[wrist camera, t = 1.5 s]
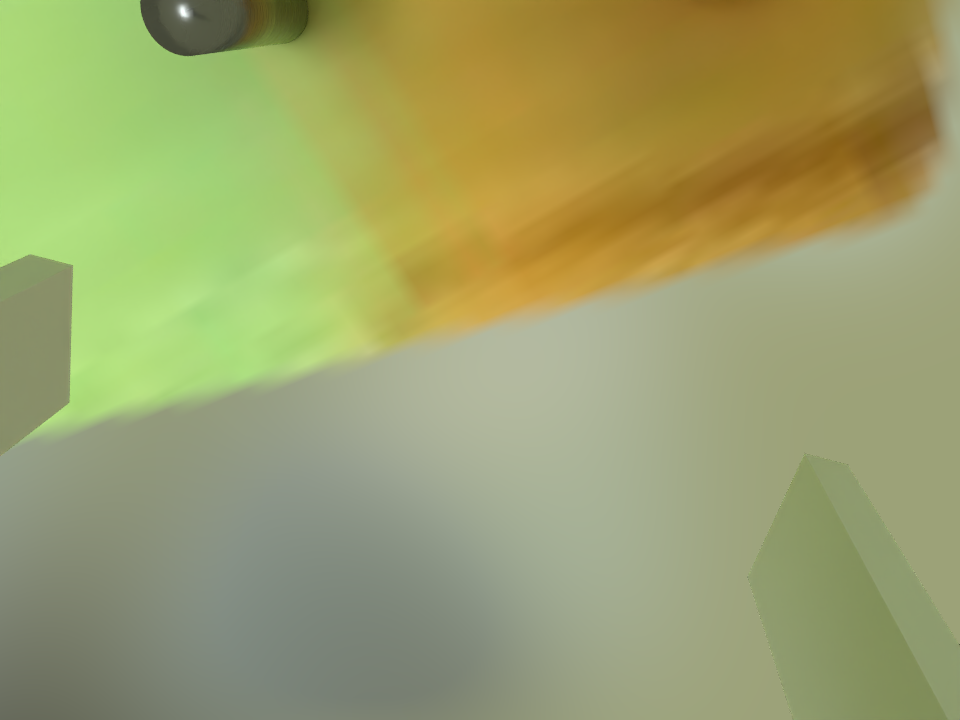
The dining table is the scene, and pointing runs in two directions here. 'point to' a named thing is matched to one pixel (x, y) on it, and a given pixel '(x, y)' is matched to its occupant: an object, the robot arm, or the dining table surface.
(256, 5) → the post
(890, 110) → the dining table surface
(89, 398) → the dining table surface
